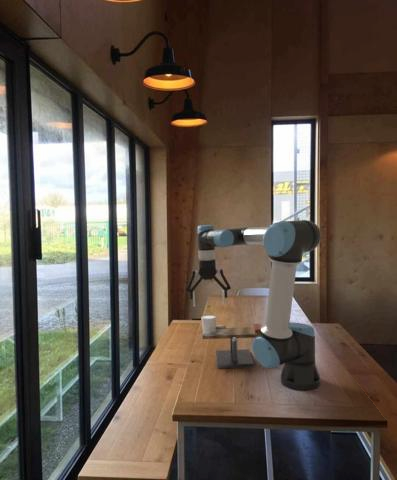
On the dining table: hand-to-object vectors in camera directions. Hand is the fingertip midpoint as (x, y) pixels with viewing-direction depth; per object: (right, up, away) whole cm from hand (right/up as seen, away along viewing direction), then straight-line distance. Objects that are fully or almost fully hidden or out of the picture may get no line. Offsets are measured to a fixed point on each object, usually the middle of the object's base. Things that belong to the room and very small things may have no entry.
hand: (209, 305), depth 179 cm
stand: (+12, -25, +2) cm, 28 cm away
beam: (+11, -15, +1) cm, 18 cm away
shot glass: (0, -13, +1) cm, 13 cm away
